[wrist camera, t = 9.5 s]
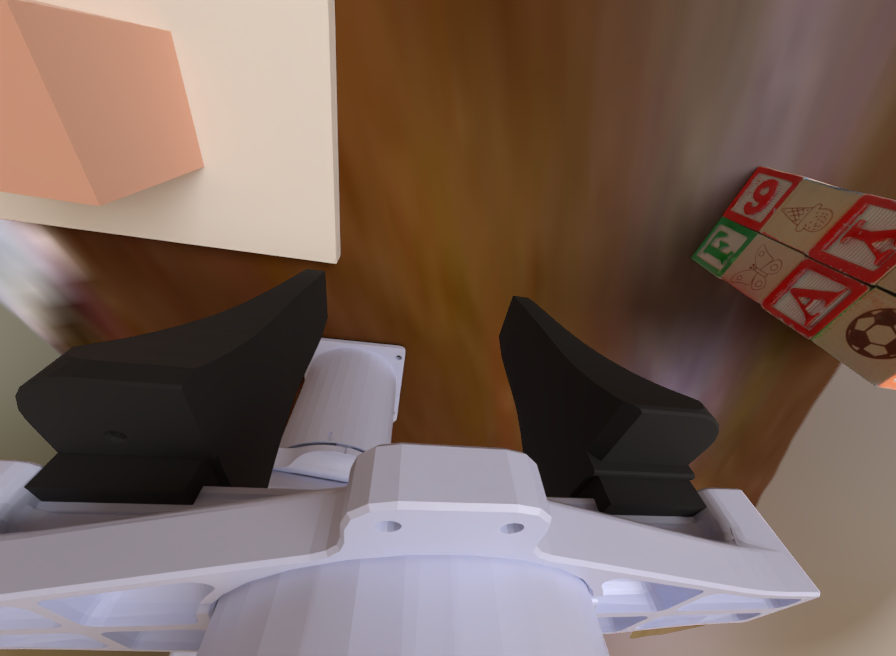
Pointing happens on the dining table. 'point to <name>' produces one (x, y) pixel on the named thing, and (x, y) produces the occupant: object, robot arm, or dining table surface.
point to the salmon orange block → (89, 105)
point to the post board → (234, 132)
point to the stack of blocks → (815, 264)
